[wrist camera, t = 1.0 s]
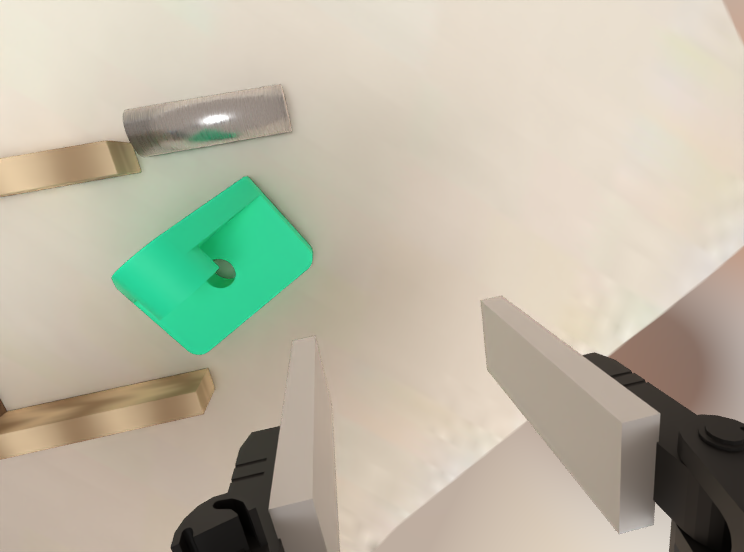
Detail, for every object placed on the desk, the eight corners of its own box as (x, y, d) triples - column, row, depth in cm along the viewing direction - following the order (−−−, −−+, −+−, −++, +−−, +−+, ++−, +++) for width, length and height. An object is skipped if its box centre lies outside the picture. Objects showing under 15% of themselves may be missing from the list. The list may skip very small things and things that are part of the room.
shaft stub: (152, 145, 28) (142, 164, 26) (130, 102, 26) (118, 119, 24) (290, 121, 29) (292, 138, 27) (280, 78, 27) (281, 92, 25)
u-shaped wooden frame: (-8, 437, 32) (-65, 486, 27) (-148, 190, 26) (-252, 197, 21) (214, 388, 33) (197, 426, 29) (131, 142, 27) (91, 139, 23)
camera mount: (207, 344, 32) (159, 424, 23) (133, 277, 30) (43, 334, 20) (318, 252, 31) (318, 293, 22) (250, 175, 29) (215, 183, 19)
